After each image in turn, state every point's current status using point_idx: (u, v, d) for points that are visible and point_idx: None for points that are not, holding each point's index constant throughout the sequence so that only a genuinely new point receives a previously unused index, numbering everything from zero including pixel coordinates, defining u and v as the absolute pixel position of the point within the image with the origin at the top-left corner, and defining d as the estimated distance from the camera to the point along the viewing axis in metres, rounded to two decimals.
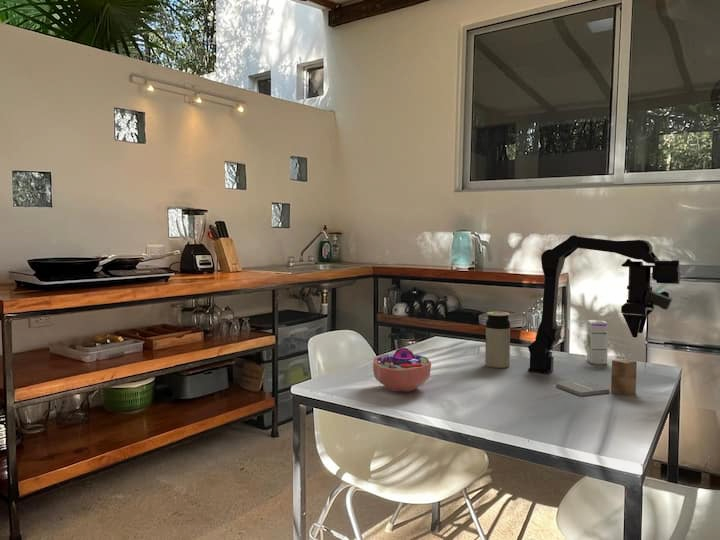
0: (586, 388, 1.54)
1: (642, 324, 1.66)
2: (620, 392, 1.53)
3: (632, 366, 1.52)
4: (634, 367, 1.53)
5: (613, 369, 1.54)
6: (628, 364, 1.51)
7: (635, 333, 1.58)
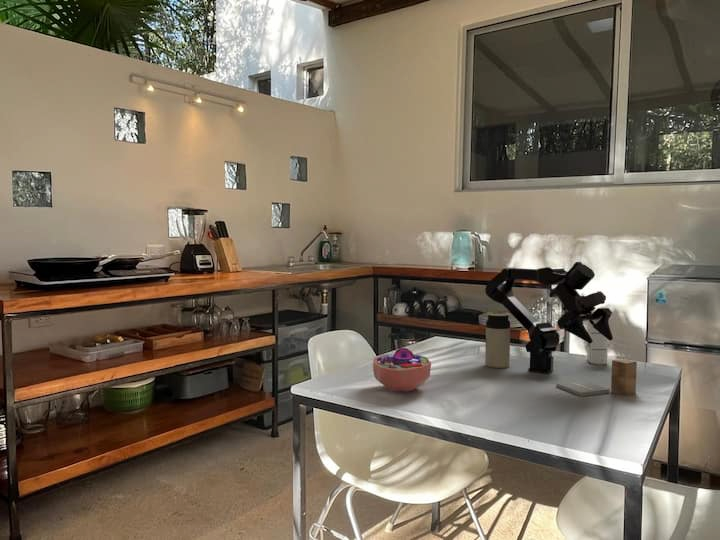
0: (586, 388, 1.54)
1: (607, 331, 1.63)
2: (620, 392, 1.53)
3: (632, 366, 1.52)
4: (634, 367, 1.53)
5: (613, 369, 1.54)
6: (628, 364, 1.51)
7: (588, 339, 1.58)
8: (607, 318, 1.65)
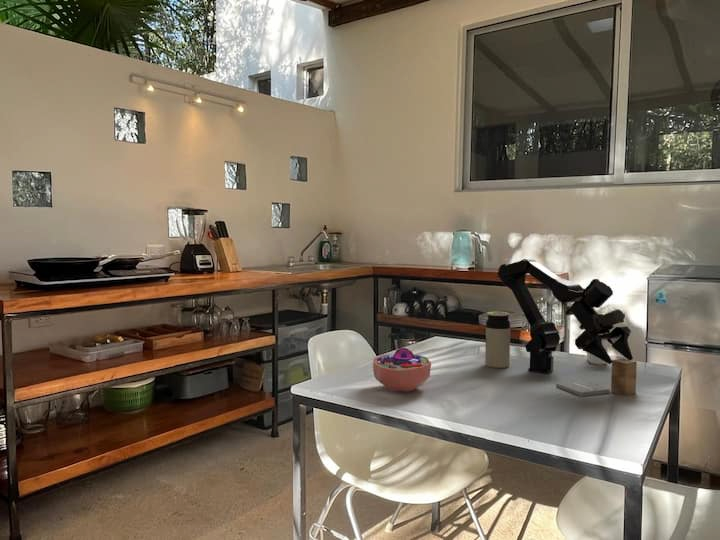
0: (586, 388, 1.54)
1: (626, 350, 1.58)
2: (620, 392, 1.53)
3: (632, 366, 1.52)
4: (634, 367, 1.53)
5: (613, 369, 1.54)
6: (628, 364, 1.51)
7: (607, 359, 1.52)
8: (626, 337, 1.60)
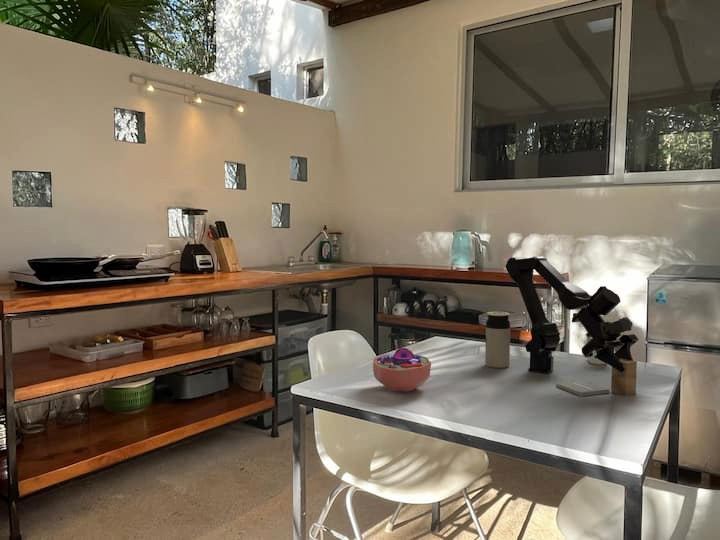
0: (586, 388, 1.54)
1: None
2: (620, 392, 1.52)
3: (632, 366, 1.52)
4: (634, 367, 1.53)
5: (613, 369, 1.54)
6: (628, 364, 1.51)
7: (619, 367, 1.52)
8: (629, 346, 1.57)
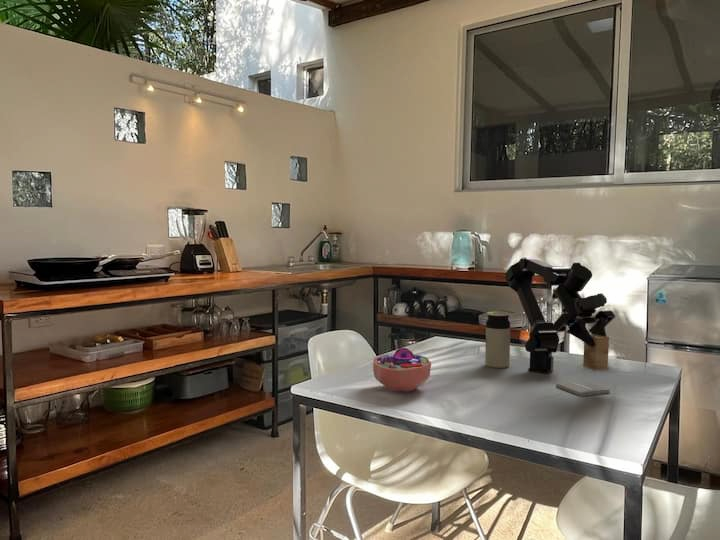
0: (586, 388, 1.54)
1: (602, 335, 1.56)
2: (591, 367, 1.54)
3: (603, 341, 1.53)
4: (606, 342, 1.53)
5: (585, 344, 1.56)
6: (599, 339, 1.52)
7: (590, 342, 1.53)
8: (603, 322, 1.57)
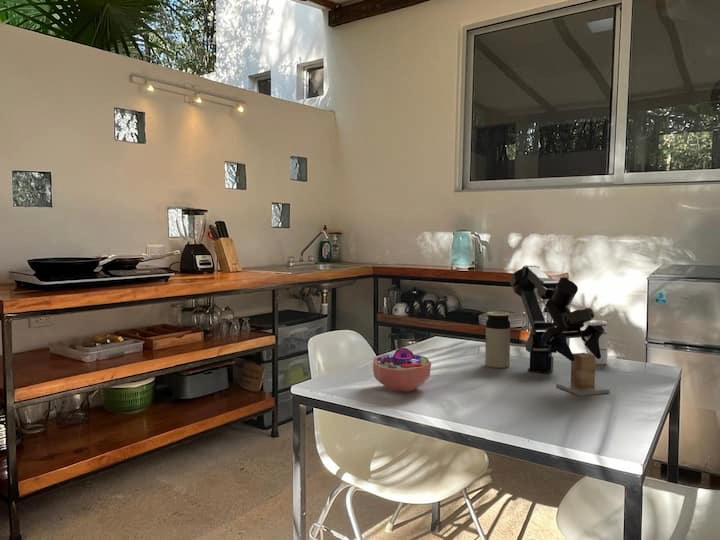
0: (586, 388, 1.54)
1: (595, 349, 1.58)
2: (577, 385, 1.55)
3: (589, 360, 1.54)
4: (592, 361, 1.55)
5: (572, 362, 1.57)
6: (584, 358, 1.54)
7: (570, 357, 1.54)
8: (597, 336, 1.59)
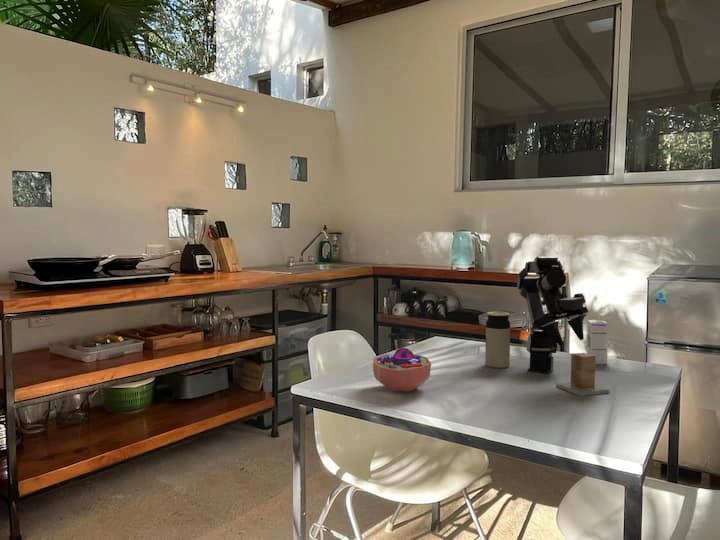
0: (586, 388, 1.54)
1: (579, 331, 1.68)
2: (577, 385, 1.55)
3: (589, 360, 1.54)
4: (592, 361, 1.55)
5: (572, 362, 1.57)
6: (584, 358, 1.54)
7: (559, 342, 1.63)
8: (582, 318, 1.69)
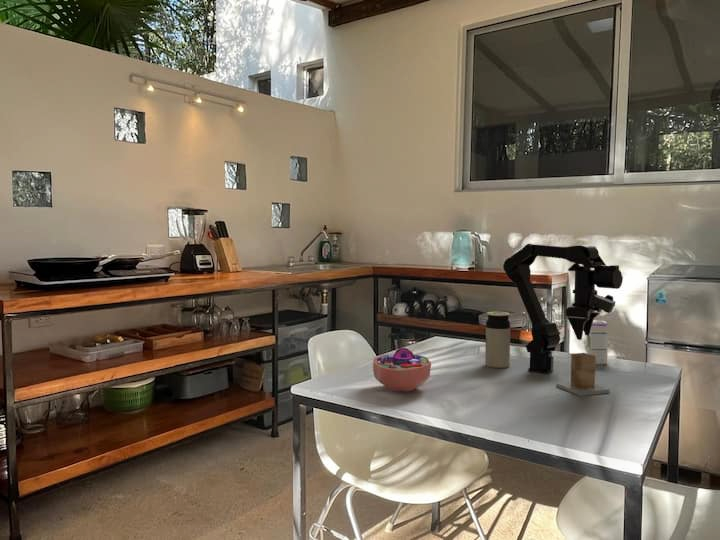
0: (586, 388, 1.54)
1: (589, 327, 1.71)
2: (577, 385, 1.55)
3: (589, 360, 1.54)
4: (592, 361, 1.55)
5: (572, 362, 1.57)
6: (584, 358, 1.54)
7: (579, 336, 1.63)
8: None
